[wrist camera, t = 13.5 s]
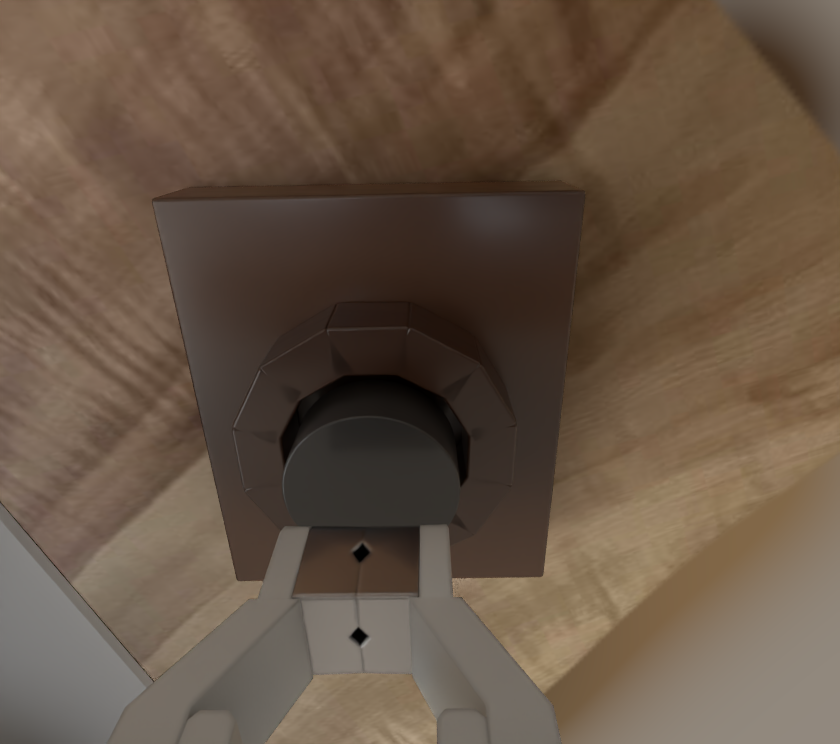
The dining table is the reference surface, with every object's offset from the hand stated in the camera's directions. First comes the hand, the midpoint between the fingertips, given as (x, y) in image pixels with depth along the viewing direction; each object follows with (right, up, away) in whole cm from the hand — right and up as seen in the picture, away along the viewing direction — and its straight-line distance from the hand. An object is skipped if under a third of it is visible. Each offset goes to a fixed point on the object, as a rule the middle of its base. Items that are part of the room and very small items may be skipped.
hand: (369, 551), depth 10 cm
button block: (0, +3, +7) cm, 8 cm away
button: (0, +1, +4) cm, 4 cm away
